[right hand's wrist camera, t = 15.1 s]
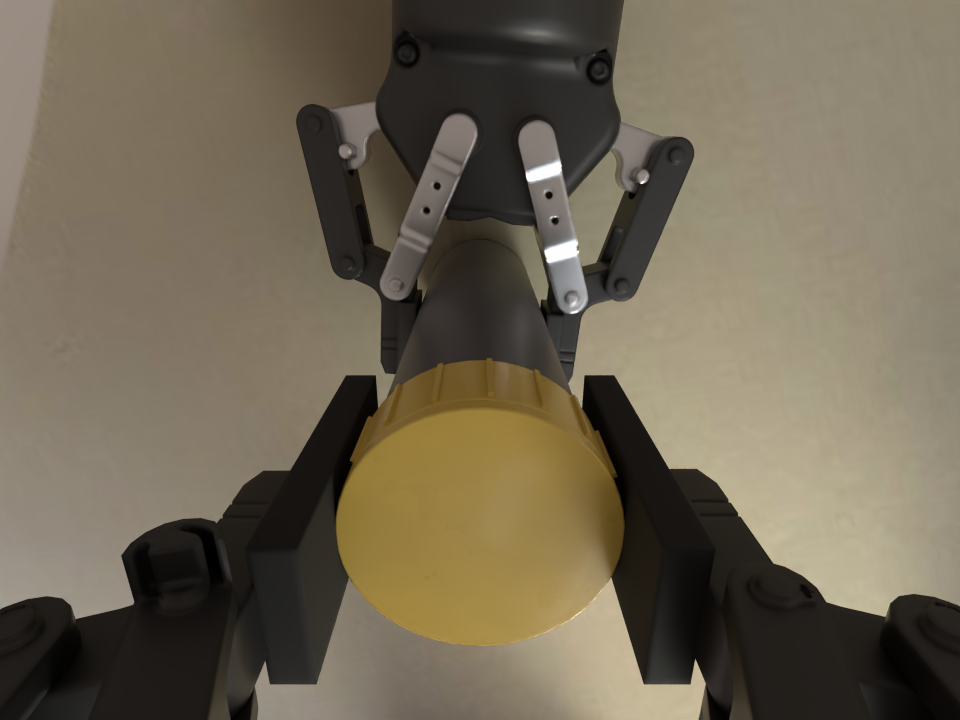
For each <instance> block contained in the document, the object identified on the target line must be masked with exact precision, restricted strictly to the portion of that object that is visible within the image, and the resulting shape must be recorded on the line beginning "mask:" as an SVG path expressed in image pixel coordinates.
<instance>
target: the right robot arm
mask: <svg viewBox="0 0 960 720" xmlns="http://www.w3.org/2000/svg"><path fill="white" fill-rule="evenodd" d="M582 409H583V411H584V412H585V414H586V416H587V417H588V419H589V421H590V422H591V424H592V427H593V429H594V432H595V431H597V430H598V431H599V433H600V435H601V438H602V440H603V443H604V445H605V447H606V450H607V452H608V455H609V457H610V459H611V462H612V464H613V467H614V469H615V471H616V474H617V477H616V478H613V479H614V481H615V484H616V486H617V489H618V491H619V494H620V497H621V501H622V505H623V509H624V520H625V529H624V538H623V546H622V551H621V555H620V558H619V561H618V563H617V566H616V568H615V571H614V573H613V574H612V576H611V578H612V581H613V584H614V588H615V591H616V594H617V597H618V601H619V604H620V607H621V611H622V614H623V617H624V620H625V624H626V627H627V630H628V634H629V637H630V640H631V643H632V647H633V650H634V653H635V657H636V660H637V663H638V666H639V670H640V673H641V676H642V680H643V683H644V684H690V683H691V678H692V673H693V667H694V662H695V659H696V661H697V663H698V666H699V668H700V670H701V673H702V675H703V678H704V680H705V682H706V686H705V691H704V696H703V701H702V706H701V710H700V715H699V720H960V606H958V605H956V604H953V603H950V602H947V601H945V600H941V599H938V598H936V597H930V596H924V595H917V594H911V595H904V596H899V597H897V598H896V599H895V600H894V601H893V602H892V603H890V606H889V609H888V612H887V615H886V617H883V616H879V615H875V614H870V613H866V612H862V611H857V610H853V609H849V608H844V607H840V606H837V605H834V604H830V603H827V602H826V601H825V599H824V598H823V596H822V595H821V593H820V592H819V590H818V589H817V588H816V587H815V586H814V585H813V584H812V583H810V582H809V581H808V580H807V579H806V578H804V577H803V576H802V575H800V574H798V573H796V572H794V571H792V570H790V569H788V568H786V567H783V566H780V565H776V564H773V562H772V561H771V559H770V558H769V557H768V555H767V554H766V552H765V551H764V550H763V548H762V547H761V545H760V544H759V542H758V541H757V540H756V538H755V537H754V535H753V534H752V532H751V531H750V530H749V528H748V527H747V525H746V524H745V523H744V521H743V520H742V518H741V517H738V513H737V511H736V510H735V508H734V507H733V505H732V504H731V503H729V502H728V498H727V497H726V495H725V494H724V493H723V491H722V490H721V488H720V487H719V486H718V484H717V483H716V482H715V481H713V480H712V479H710V478H709V477H707V476H706V475H705V474H703V473H702V472H700V471H699V470H698V469H669V468H668V466H667V465H666V463H665V461H664V460H663V458H662V456H661V455H660V453H659V451H658V449H657V448H656V446H655V444H654V443H653V441H652V439H651V437H650V436H649V434H648V432H647V431H646V429H645V427H644V425H643V424H642V422H641V420H640V419H639V417H638V415H637V414H636V412H635V410H634V408H633V407H632V405H631V403H630V402H629V400H628V398H627V396H626V395H625V393H624V391H623V390H622V388H621V386H620V385H619V383H618V381H617V379H616V378H615V376H614V375H585V377H584V391H583V404H582ZM377 410H378V400H377V386H376V375H346V377H345V378H344V380H343V382H342V383H341V385H340V387H339V389H338V390H337V392H336V394H335V395H334V397H333V399H332V400H331V402H330V404H329V406H328V407H327V409H326V411H325V412H324V414H323V416H322V418H321V419H320V421H319V423H318V424H317V426H316V428H315V430H314V431H313V433H312V435H311V436H310V438H309V440H308V441H307V443H306V445H305V447H304V448H303V450H302V452H301V453H300V455H299V457H298V459H297V460H296V462H295V464H294V465H293V467H292V469H291V471H263V472H261V473H260V474H258V475H257V476H256V477H254V478H253V479H251V480H250V481H249V482H247V483H246V484H244V485H243V487H242V488H241V490H240V491H239V493H238V494H237V495H236V497H235V498H234V500H233V501H232V505H229V507H228V508H227V510H226V511H225V513H224V514H223V518H222V519H220V520H219V521H218V523H216V522H215V521H211V520H206V519H202V518H193V519H181V520H177V521H173V522H169V523H165V524H163V525H161V526H158V527H156V528H154V529H152V530H150V531H147V532H146V533H144V534H143V535H141V536H140V537H139V538H137V539H136V540H135V541H133V542H132V543H131V544H130V545H129V546H128V547H127V549H126V550H125V551H124V553H123V554H122V555H121V557H122V560H123V564H124V567H125V571H126V574H127V577H128V581H129V584H130V588H131V591H132V595H133V598H134V604H133V605H131V606H128V607H125V608H121V609H117V610H113V611H109V612H105V613H100V614H96V615H92V616H87V617H83V618H79V619H75V616H74V613H73V610H72V607H71V605H69V604H68V603H67V602H66V601H65V600H63V599H62V598H55V597H48V596H46V597H39V598H33V599H27V600H24V601H21V602H18V603H15V604H12V605H10V606H7V607H4V608H2V609H0V720H257V715H258V703H257V696H256V691H255V684H256V681H257V679H258V677H259V674H260V672H261V669H262V667H263V665H264V662H265V660H266V666H267V671H268V676H269V681H270V684H317V681H318V677H319V674H320V671H321V668H322V664H323V661H324V658H325V654H326V651H327V648H328V645H329V641H330V638H331V635H332V631H333V628H334V625H335V622H336V618H337V615H338V612H339V608H340V605H341V602H342V599H343V595H344V592H345V589H346V585H347V582H348V579H349V576H348V574H347V572H346V570H345V568H344V566H343V564H342V561H341V558H340V554H339V551H338V544H337V535H336V523H335V516H336V511H337V505H338V500H339V497H340V494H341V491H342V489H343V486H344V483H345V481H346V478H347V476H348V473H349V471H350V468H351V466H352V463H353V462H351V461H350V459H351V456H352V454H353V452H354V449H355V447H356V444H357V442H358V440H359V437H360V435H361V432H362V430H363V428H364V425H365V423H366V420H367V418H368V417H369V416H370V417H373V415H374V414H375V412H376V411H377Z"/></svg>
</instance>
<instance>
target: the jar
mask: <svg viewBox="0 0 960 720" xmlns="http://www.w3.org/2000/svg"><path fill="white" fill-rule="evenodd" d="M487 358H492V361H498V362H505V363H509V364H514V365H518V366H521V367H524V368H527V369H529V370H532V371H534V370H535V369H537V370H539V371H540V374H541V375H543V376H545V377H546V378H548V379H550V380H551V381H553V382H554V383H556V384H557V385H559V386H560V387H562V388H563V389H564V390H565V391H566V392H567V393H568V394H569V395H570V396H572V393H571V390H570V388H569V385H568V382H567V380H566V377H565V374H564V371H563V369H562V366H561V363H560V361H559V358H558V355H557V353H556V350H555V347H554V345H553V342H552V339H551V336H550V334H549V331H548V328H547V326H546V323H545V320H544V318H543V315H542V312H541V310H540V307H539V304H538V301H537V299H536V296H535V293H534V291H533V288H532V285H531V283H530V280H529V277H528V274H527V272H526V269H525V267H524V265H523V263H522V262H521V260H520V259H519V258H518V256H517V255H516V254H515V253H514V252H513V251H511V250H510V249H509V248H507V247H506V246H504V245H502V244H500V243H497V242H494V241H490V240H483V239H477V240H469V241H466V242H463V243H460V244H458V245H456V246H454V247H453V248H451V249H450V250H449V251H448V252H446V253H445V254H444V255H443V257H442V258H441V259H440V261H439V262H438V264H437V265H436V267H435V270H434V272H433V275H432V278H431V280H430V283H429V286H428V288H427V291H426V294H425V297H424V299H423V302H422V305H421V307H420V310H419V313H418V315H417V318H416V321H415V323H414V326H413V329H412V332H411V334H410V337H409V340H408V342H407V345H406V348H405V350H404V353H403V356H402V359H401V361H400V364H399V367H398V369H397V372H396V375H395V377H394V380H393V383H392V385H391V388H390V391H389V394H388V396H387V398H388V397H389V396H390V395H391V394H392V393H393V392H394V389H395V386H396V385H398V384H400V385H403V384H404V383H405V382H407V381H409V380H410V379H412V378H414V377H415V376H417V375H419V374H421V373H423V372H426V371H428V370H431V369H433V368H436V367H437V365H438V364H440V363H443V365H446V364H450V363H456V362H462V361H475V360H487Z"/></svg>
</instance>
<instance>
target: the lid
mask: <svg viewBox="0 0 960 720" xmlns="http://www.w3.org/2000/svg"><path fill="white" fill-rule="evenodd" d="M350 461H351V462H353V463H352V466H351V468H350V471H349V473H348V476H347V478H346V481H345V483H344V486H343V489H342V491H341V494H340V497H339V500H338V505H337V511H336V516H335V523H336V535H337V544H338V551H339V554H340V558H341V561H342V564H343V566H344V568H345V570H346V572H347V574H348V576H349V578H350V580H351V581H352V583H353V584H354V586H355V587H356V589H357V590H358V591H359V593H360V594H361V595H362V596H363V597H364V598H365V599H366V600H367V602H368V603H369V604H371V605H372V606H373V607H374V608H375V609H376V610H377V611H378V612H380V613H381V614H382V615H384V616H385V617H387V618H388V619H390V620H391V621H392V622H394V623H396V624H398V625H400V626H401V627H403V628H405V629H407V630H409V631H411V632H414V633H416V634H419V635H421V636H424V637H427V638H431V639H434V640H438V641H441V642H447V643H453V644H459V645H472V646H487V645H500V644H508V643H513V642H518V641H522V640H526V639H530V638H533V637H536V636H539V635H542V634H544V633H546V632H548V631H551V630H553V629H555V628H557V627H559V626H561V625H562V624H564V623H566V622H567V621H569V620H571V619H572V618H574V617H575V616H576V615H578V614H579V613H580V612H581V611H583V610H584V609H585V608H586V607H587V606H588V605H589V604H590V603H591V602H592V601H593V600H594V599H596V597H597V596H598V595H599V594H600V592H601V591H602V590H603V589H604V587H605V586H606V585H607V583H608V581H609V580H610V578H611V576H612V574H613V573H614V571H615V568H616V566H617V563H618V561H619V558H620V555H621V551H622V546H623V538H624V529H625V520H624V509H623V505H622V501H621V497H620V494H619V491H618V489H617V486H616V484H615V481H614V479H613V478H616V477H617V474H616V471H615V469H614V467H613V464H612V462H611V459H610V457H609V455H608V452H607V450H606V447H605V445H604V443H603V440H602V438H601V435H600V433H599V431H598V430H597V431H595V432H594V429H593V427H592V424H591V422H590V421H589V419H588V417H587V416H586V414H585V412H584V411H583V409H582V408H581V406H580V404H579V401H578V399H577V397H576V396H575V395H573V396H570V395H569V394H568V393H567V392H566V391H565V390H564V389H563V388H562V387H560V386H559V385H557V384H556V383H554V382H553V381H551V380H550V379H548V378H546V377H545V376H543V375H541V374H540V371H539V370H537V369H535V370H534V371H532V370H529V369H527V368H524V367H521V366H518V365H514V364H509V363H505V362H498V361H492V358H487V360H475V361H462V362H456V363H450V364H446V365H443V363H440V364H438V365H437V367H436V368H433V369H431V370H428V371H426V372H423V373H421V374H419V375H417V376H415V377H414V378H412V379H410V380H409V381H407V382H405V383H404V384H403V385H400V384H398V385H396V386H395V389H394V392H393V393H392V394H391V395H390V396H389V397H388V398H387V399H386V400H385V401H384V402H383V403H382V404H381V406H380V407H379V408H378V410H377V411H376V412H375V414H374V415H373V417H370V416H369V417H368V418H367V420H366V423H365V425H364V428H363V430H362V432H361V435H360V437H359V440H358V442H357V444H356V447H355V449H354V452H353V454H352V456H351V459H350Z"/></svg>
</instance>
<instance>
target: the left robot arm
mask: <svg viewBox="0 0 960 720" xmlns="http://www.w3.org/2000/svg"><path fill="white" fill-rule="evenodd" d="M623 3H624V0H393V16H392V56H391V63H390V67H389V71H388V74H387V76H386V79H385V81H384V83H383V85H382V86H381V88H380V90H379V92H378V94H377V98H376V101H372V102H366V103H360V104H354V105H348V106H342V107H336V108H327V107H323V106H319V105H315V104H310V105H306V106H304V107H303V108H302V109H301V110H300V111H299V113H298V115H297V119H296V124H297V129H298V133H299V137H300V141H301V145H302V149H303V153H304V157H305V161H306V165H307V169H308V173H309V177H310V181H311V186H312V190H313V194H314V198H315V202H316V206H317V210H318V214H319V218H320V222H321V226H322V230H323V234H324V238H325V242H326V246H327V250H328V254H329V258H330V262H331V266H332V269H333V271H334V272H335V274H336V275H338V276H339V277H340V278H343V279H346V280H352V279H355V280H357V281H359V282H362V283H364V284H366V285H368V286H370V287H372V288H373V289H374V290H375V291H376V292H377V293H378V294H379V296H380V299H381V304H382V310H381V364H382V366H383V369H384V371H385V373H388V374H396V372H397V369H398V367H399V364H400V361H401V359H402V356H403V353H404V350H405V348H406V345H407V342H408V340H409V337H410V334H411V332H412V329H413V326H414V323H415V321H416V318H417V315H418V313H419V310H420V307H421V305H422V290H417V278H418V276H419V273H420V271H421V269H422V266H423V264H424V262H425V260H426V257H427V255H428V253H429V250H430V248H431V246H432V243H433V241H434V239H435V237H436V234H437V232H438V230H439V228H440V225H441V223H442V221H443V219H444V216H447V219H449V220H462V221H471V220H476V219H482V218H487V217H492V218H495V219H498V220H501V221H503V222H506V223H509V224H512V225H523V226H533V228H534V232H535V236H536V240H537V243H538V246H539V250H540V253H541V257H542V261H543V265H544V269H545V273H546V277H547V281H548V285H549V288H548V296H547V300H541V306H540V310H541V312H542V315H543V318H544V320H545V323H546V326H547V328H548V331H549V334H550V336H551V339H552V342H553V345H554V347H555V350H556V353H557V355H558V358H559V361H560V363H561V366H562V369H563V371H564V374H565V377H566V380H567V382H569V381H570V379H571V377H572V375H573V368H574V361H575V355H576V354H575V353H576V348H577V341H578V335H579V328H580V321H581V317H582V315H583V313H584V312H585V311H586V309H588V308H589V307H590V306H592V305H594V304H597V303H600V302H604V301H608V300H612V299H613V300H615V301H619V302H622V301H627V300H629V299H630V298H632V297H633V296H634V295H635V293H636V292H637V289H638V287H639V285H640V282H641V280H642V278H643V275H644V273H645V271H646V268H647V266H648V264H649V261H650V259H651V257H652V254H653V252H654V250H655V247H656V245H657V243H658V240H659V238H660V236H661V233H662V231H663V229H664V226H665V224H666V222H667V219H668V217H669V215H670V212H671V210H672V208H673V205H674V203H675V201H676V198H677V196H678V194H679V191H680V189H681V187H682V184H683V182H684V180H685V177H686V175H687V173H688V170H689V168H690V166H691V163H692V161H693V158H694V149H693V146H692V144H691V143H690V141H689V140H687V139H686V138H683V137H675V136H666V137H661V136H658V135H656V134H653V133H650V132H647V131H644V130H642V129H639V128H636V127H633V126H630V125H627V124H625V123H622V122H621V118H620V112H619V109H618V106H617V104H616V101H615V97H614V92H613V71H614V65H615V58H616V51H617V44H618V37H619V30H620V23H621V17H622V10H623ZM380 131H382V132H383V133H384V135H385V136H386V138H387V140H388V141H389V143H390V144H391V146H392V148H393V149H394V151H395V152H396V154H397V156H398V157H399V159H400V160H401V162H402V164H403V165H404V167H405V168H406V170H407V172H408V173H409V175H410V176H411V178H412V180H413V181H414V183H415V184H416V186H417V189H416V191H415V194H414V196H413V199H412V201H411V203H410V206H409V208H408V211H407V213H406V216H405V218H404V220H403V223H402V225H401V228H400V231H399V234H398V237H397V240H396V243H395V245H394V247H393V250H392V252H389V251H386V250H384V249H382V248H380V247H377V246H375V245H374V242H373V237H372V233H371V228H370V224H369V219H368V214H367V210H366V205H365V201H364V196H363V192H362V187H361V182H360V178H359V173H358V168H361V167H364V166H365V165H366V164H367V163H368V162H369V160H370V157H371V142H372V139H373V137H374V136H375V135H376V134H377V133H378V132H380ZM609 151H611V152H612V153H613V154H614V156H615V158H616V161H617V168H616V172H615V180H616V183H617V184H618V186H619V187H620V188H621V189H623V190H625V192H624V194H623V197H622V199H621V202H620V204H619V207H618V209H617V212H616V215H615V217H614V220H613V222H612V225H611V227H610V230H609V232H608V235H607V237H606V240H605V242H604V245H603V248H602V250H601V253H600V255H599V258H598V260H597V263H594V264H591V265H587V266H583V267H582V266H581V261H580V257H579V252H578V248H579V247H578V240H577V236H576V231H575V227H574V222H573V218H572V213H571V209H570V204H569V200H568V197H569V196H570V195H571V194H572V193H573V192H574V190H575V189H576V188H577V187H578V186H579V185H580V184H581V182H582V181H583V180H584V179H585V178H586V177H587V176H588V175H589V173H590V172H591V171H592V170H593V169H594V168H595V167H596V165H597V164H598V163H599V162H600V161H601V160H602V159H603V157H604V156H605V155H606V154H607V153H608V152H609Z"/></svg>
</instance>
